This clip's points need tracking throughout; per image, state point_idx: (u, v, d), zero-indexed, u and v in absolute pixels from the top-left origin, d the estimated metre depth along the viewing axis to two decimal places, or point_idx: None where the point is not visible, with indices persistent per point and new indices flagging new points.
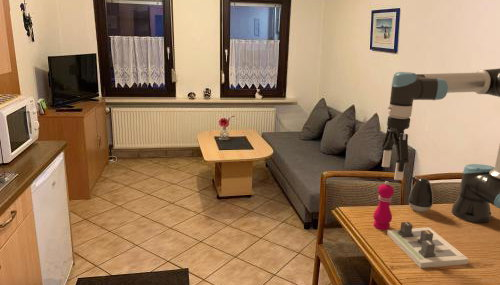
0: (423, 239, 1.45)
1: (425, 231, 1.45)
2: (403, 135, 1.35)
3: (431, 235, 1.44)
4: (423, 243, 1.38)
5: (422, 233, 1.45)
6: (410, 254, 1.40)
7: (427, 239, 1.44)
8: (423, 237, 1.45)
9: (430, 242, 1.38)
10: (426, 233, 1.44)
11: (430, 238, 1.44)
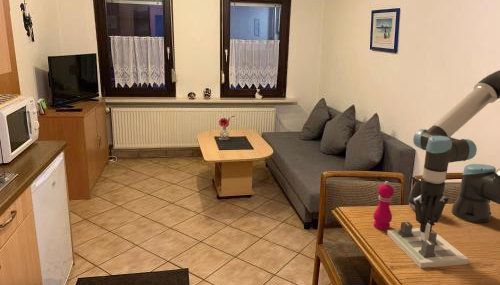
0: None
1: None
2: (414, 200, 1.41)
3: (435, 235, 1.44)
4: (423, 243, 1.38)
5: None
6: (410, 254, 1.40)
7: (431, 239, 1.44)
8: None
9: (430, 242, 1.38)
10: (430, 233, 1.44)
11: (434, 238, 1.45)
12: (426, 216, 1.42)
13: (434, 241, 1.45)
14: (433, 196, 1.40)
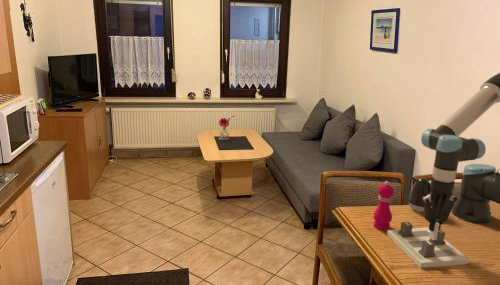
0: None
1: None
2: (423, 199, 1.41)
3: (443, 234, 1.45)
4: (423, 243, 1.38)
5: None
6: (410, 254, 1.40)
7: (439, 238, 1.45)
8: None
9: (430, 242, 1.38)
10: (438, 232, 1.45)
11: (442, 237, 1.45)
12: (436, 215, 1.42)
13: (442, 240, 1.46)
14: (442, 195, 1.40)
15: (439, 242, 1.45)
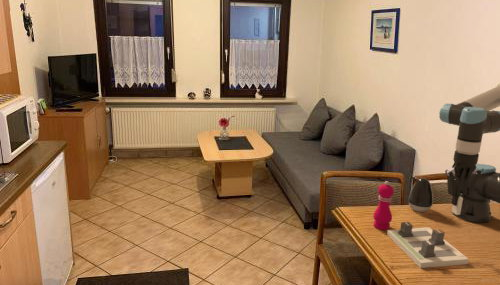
0: (434, 238, 1.46)
1: (436, 230, 1.46)
2: (446, 172, 1.40)
3: (442, 234, 1.45)
4: (423, 243, 1.38)
5: (433, 232, 1.46)
6: (410, 254, 1.40)
7: (438, 238, 1.45)
8: (434, 236, 1.46)
9: (430, 242, 1.38)
10: (437, 232, 1.45)
11: (441, 237, 1.45)
12: (459, 189, 1.41)
13: (442, 240, 1.45)
14: (466, 168, 1.39)
15: (438, 242, 1.45)
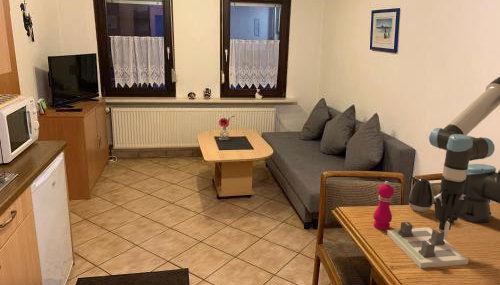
0: (434, 238, 1.46)
1: (436, 230, 1.46)
2: (433, 198, 1.42)
3: (442, 234, 1.45)
4: (423, 243, 1.38)
5: (433, 232, 1.46)
6: (410, 254, 1.40)
7: (438, 238, 1.45)
8: (434, 236, 1.46)
9: (430, 242, 1.38)
10: (437, 232, 1.45)
11: (441, 237, 1.45)
12: (446, 214, 1.43)
13: (442, 240, 1.45)
14: (453, 194, 1.41)
15: (438, 242, 1.45)
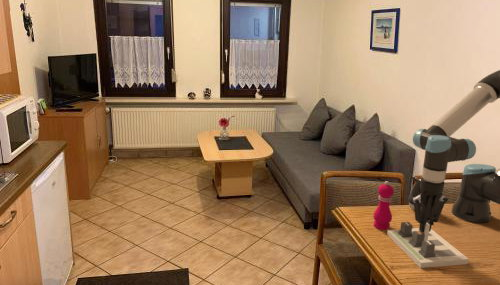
0: (415, 240, 1.44)
1: (417, 232, 1.45)
2: (413, 199, 1.40)
3: (423, 236, 1.43)
4: (423, 243, 1.38)
5: (414, 234, 1.45)
6: (410, 254, 1.40)
7: (419, 240, 1.44)
8: (414, 238, 1.44)
9: (430, 242, 1.38)
10: (417, 234, 1.43)
11: (422, 239, 1.44)
12: (426, 216, 1.41)
13: None
14: (432, 196, 1.40)
15: (419, 243, 1.44)
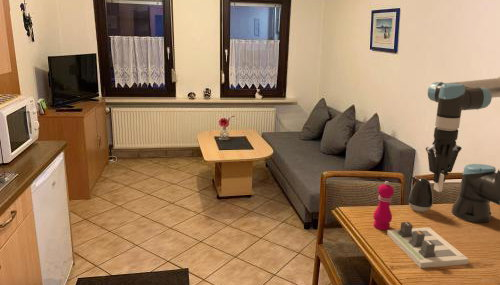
0: (415, 240, 1.44)
1: (417, 232, 1.45)
2: (427, 149, 1.39)
3: (423, 236, 1.43)
4: (423, 243, 1.38)
5: (414, 234, 1.45)
6: (410, 254, 1.40)
7: (419, 240, 1.44)
8: (414, 238, 1.44)
9: (430, 242, 1.38)
10: (417, 234, 1.43)
11: (422, 239, 1.44)
12: (440, 166, 1.41)
13: None
14: (446, 145, 1.39)
15: (419, 243, 1.44)
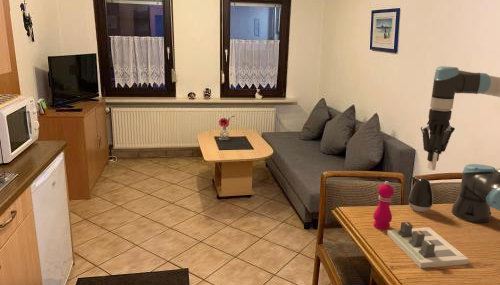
0: (415, 240, 1.44)
1: (417, 232, 1.45)
2: (422, 129, 1.48)
3: (423, 236, 1.43)
4: (423, 243, 1.38)
5: (414, 234, 1.45)
6: (410, 254, 1.40)
7: (419, 240, 1.44)
8: (414, 238, 1.44)
9: (430, 242, 1.38)
10: (417, 234, 1.43)
11: (422, 239, 1.44)
12: (434, 145, 1.49)
13: None
14: (440, 125, 1.47)
15: (419, 243, 1.44)
